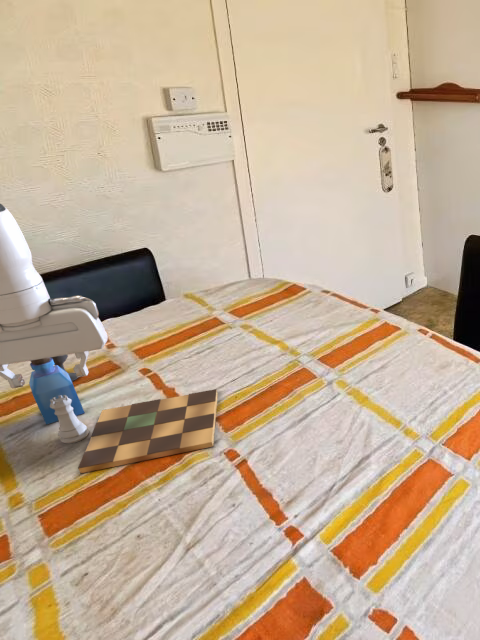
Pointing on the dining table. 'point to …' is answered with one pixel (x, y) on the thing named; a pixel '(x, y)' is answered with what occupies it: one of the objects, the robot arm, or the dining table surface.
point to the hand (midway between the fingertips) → (51, 380)
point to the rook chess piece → (68, 421)
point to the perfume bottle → (51, 388)
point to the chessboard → (151, 430)
